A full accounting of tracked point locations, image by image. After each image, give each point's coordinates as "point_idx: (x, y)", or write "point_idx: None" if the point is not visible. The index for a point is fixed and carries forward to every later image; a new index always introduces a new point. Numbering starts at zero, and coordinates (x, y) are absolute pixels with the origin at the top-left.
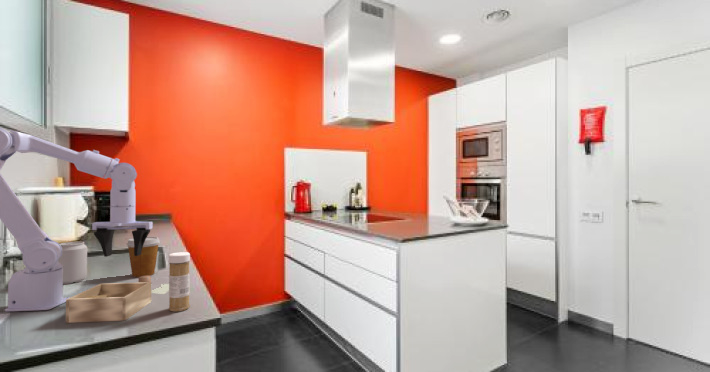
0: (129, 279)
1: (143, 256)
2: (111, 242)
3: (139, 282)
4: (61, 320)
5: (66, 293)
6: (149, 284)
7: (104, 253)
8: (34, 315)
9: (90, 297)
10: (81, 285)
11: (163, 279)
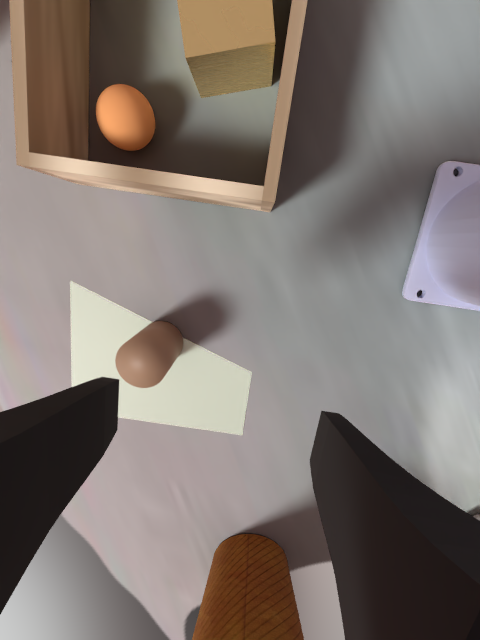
0: (279, 513)
1: (230, 628)
2: (337, 570)
3: (162, 338)
4: (339, 10)
5: (450, 388)
6: (19, 140)
7: (344, 421)
8: (470, 113)
9: (253, 15)
10: (431, 480)
11: (150, 481)
